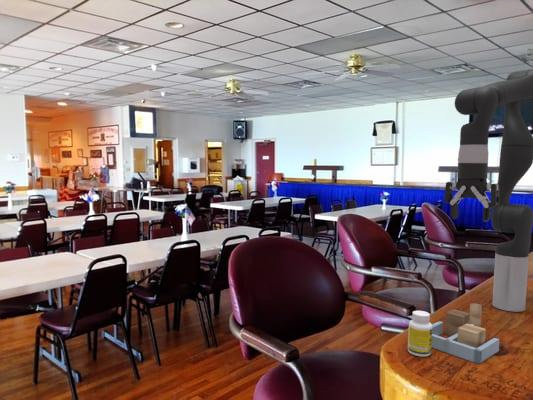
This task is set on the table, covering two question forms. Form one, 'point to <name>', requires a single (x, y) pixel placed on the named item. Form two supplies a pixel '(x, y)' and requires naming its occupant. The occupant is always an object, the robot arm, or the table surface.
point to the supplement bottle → (420, 334)
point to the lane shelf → (462, 346)
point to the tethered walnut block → (462, 319)
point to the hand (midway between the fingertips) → (469, 219)
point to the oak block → (471, 335)
